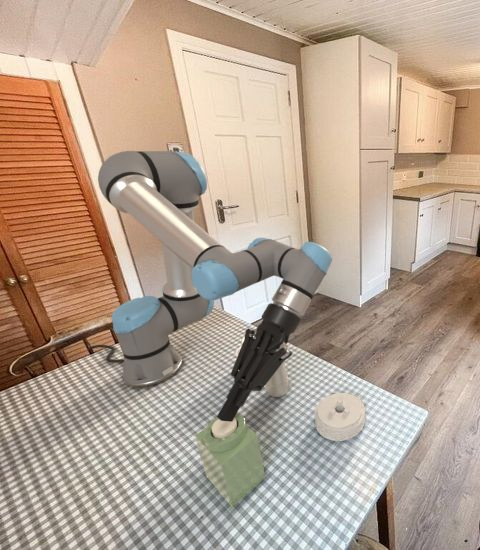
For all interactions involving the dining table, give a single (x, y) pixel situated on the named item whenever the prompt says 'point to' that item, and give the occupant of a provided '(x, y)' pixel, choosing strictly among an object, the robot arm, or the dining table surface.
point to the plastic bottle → (278, 382)
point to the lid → (339, 416)
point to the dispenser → (232, 460)
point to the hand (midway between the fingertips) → (224, 419)
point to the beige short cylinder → (223, 428)
